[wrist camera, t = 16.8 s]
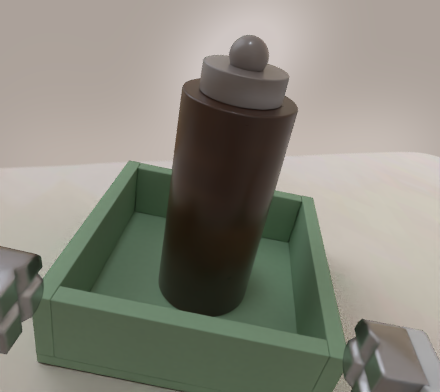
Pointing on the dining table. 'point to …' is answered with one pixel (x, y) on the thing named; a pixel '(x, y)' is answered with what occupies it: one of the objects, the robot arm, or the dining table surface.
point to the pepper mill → (223, 177)
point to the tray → (186, 321)
